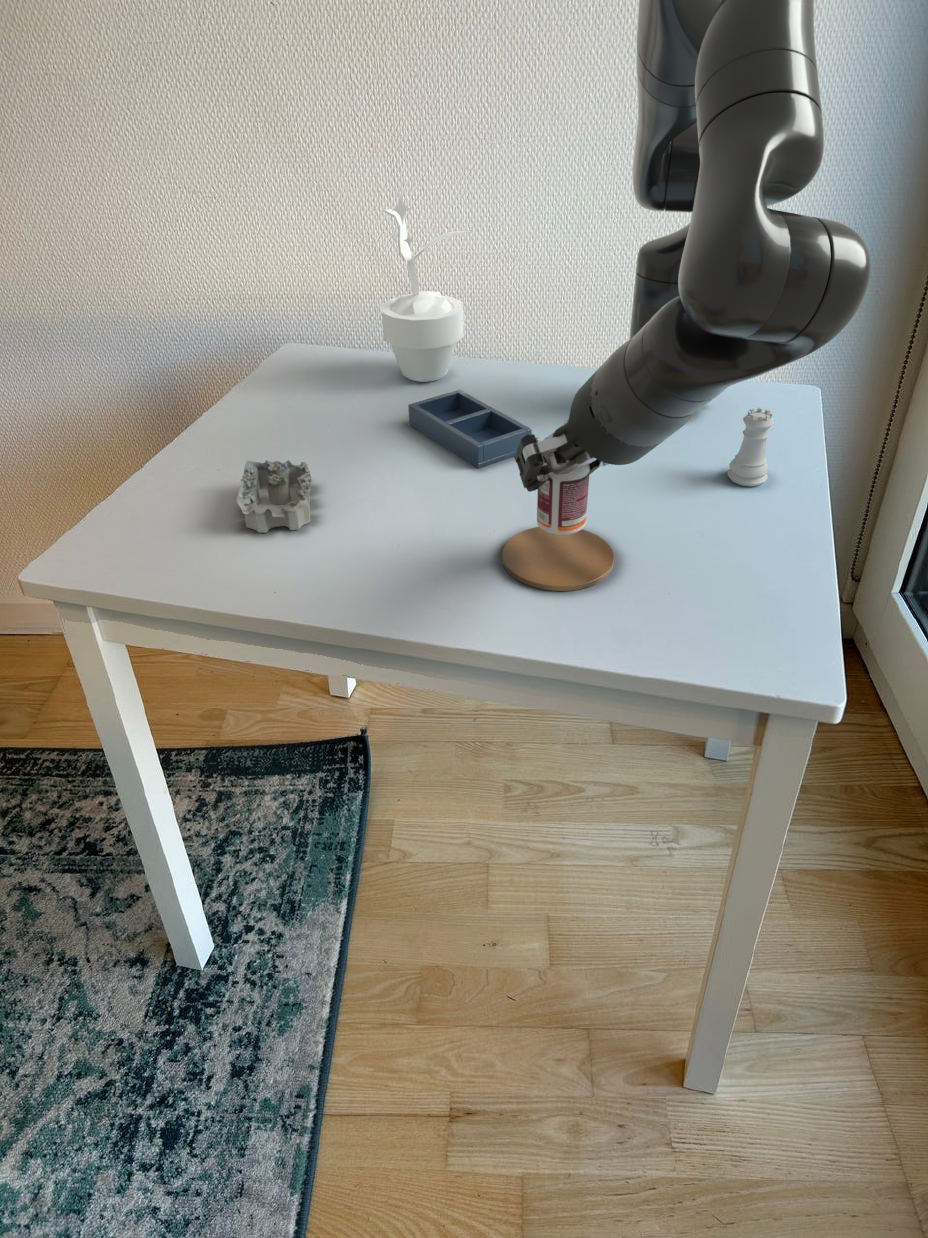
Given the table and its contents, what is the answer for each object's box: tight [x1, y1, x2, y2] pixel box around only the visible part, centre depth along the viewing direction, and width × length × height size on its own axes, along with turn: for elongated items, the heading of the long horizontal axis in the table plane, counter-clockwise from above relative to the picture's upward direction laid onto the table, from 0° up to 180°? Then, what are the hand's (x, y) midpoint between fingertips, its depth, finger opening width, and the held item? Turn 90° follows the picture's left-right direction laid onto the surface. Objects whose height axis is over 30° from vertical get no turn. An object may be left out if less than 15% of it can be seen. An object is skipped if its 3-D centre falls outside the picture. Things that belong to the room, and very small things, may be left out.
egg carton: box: [236, 459, 312, 534], centre depth 93 cm, size 11×8×4 cm
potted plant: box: [380, 193, 472, 383], centre depth 117 cm, size 13×12×25 cm
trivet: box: [501, 526, 615, 592], centre depth 85 cm, size 11×11×1 cm
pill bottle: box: [536, 456, 591, 535], centre depth 80 cm, size 5×5×8 cm
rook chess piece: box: [727, 407, 775, 488], centre depth 96 cm, size 4×4×8 cm
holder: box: [407, 389, 533, 469], centre depth 107 cm, size 8×15×3 cm, turn 35°
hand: (552, 474), depth 82 cm, fingers closed on pill bottle, 4 cm apart
